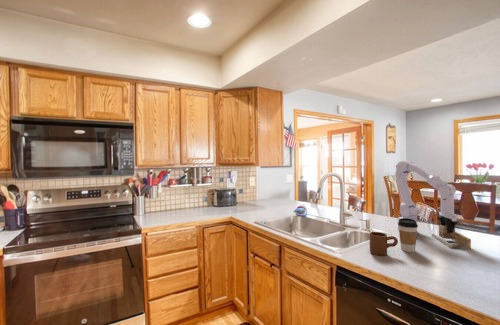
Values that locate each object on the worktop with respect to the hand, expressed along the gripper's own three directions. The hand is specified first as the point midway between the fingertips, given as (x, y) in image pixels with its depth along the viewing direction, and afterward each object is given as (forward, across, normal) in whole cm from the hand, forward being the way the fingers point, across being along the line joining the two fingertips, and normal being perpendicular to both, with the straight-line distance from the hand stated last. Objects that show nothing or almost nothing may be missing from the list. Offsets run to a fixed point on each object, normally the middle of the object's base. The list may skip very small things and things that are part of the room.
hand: (447, 231), depth 132 cm
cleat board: (+5, -2, -1) cm, 6 cm away
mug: (+6, -27, +38) cm, 47 cm away
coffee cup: (+6, -19, +25) cm, 32 cm away
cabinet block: (+3, 0, 0) cm, 3 cm away
